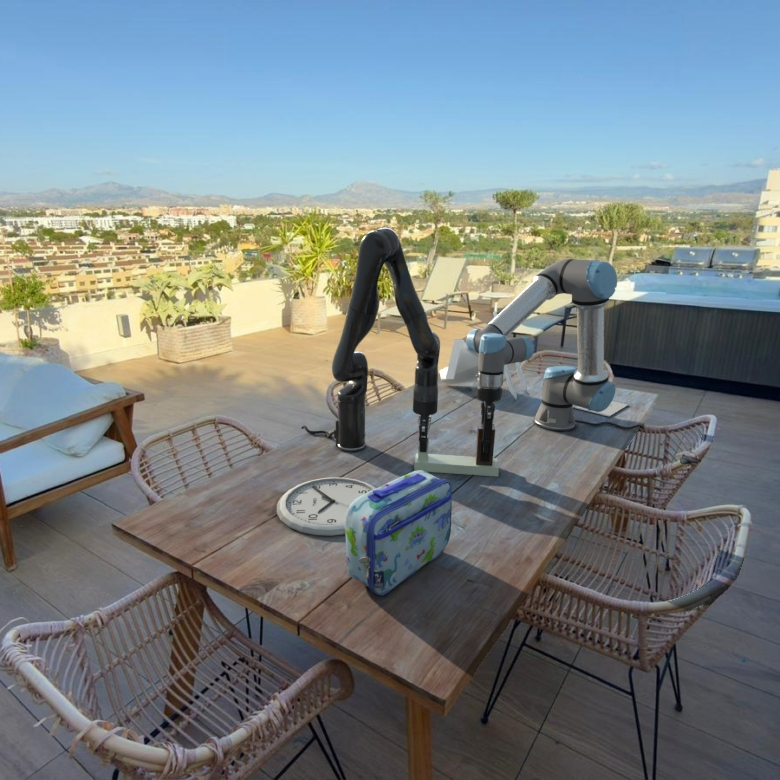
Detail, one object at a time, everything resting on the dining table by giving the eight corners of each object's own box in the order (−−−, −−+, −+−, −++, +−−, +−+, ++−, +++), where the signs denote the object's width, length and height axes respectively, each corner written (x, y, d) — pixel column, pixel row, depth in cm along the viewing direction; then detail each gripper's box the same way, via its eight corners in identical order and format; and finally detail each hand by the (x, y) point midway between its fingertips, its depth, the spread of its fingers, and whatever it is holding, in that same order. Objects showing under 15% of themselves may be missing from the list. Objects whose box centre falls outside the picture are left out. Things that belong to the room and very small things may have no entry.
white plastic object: (461, 429, 252) (437, 405, 227) (444, 352, 274) (420, 323, 250) (535, 404, 240) (518, 377, 215) (510, 326, 262) (492, 293, 237)
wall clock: (392, 527, 129) (268, 531, 127) (391, 533, 130) (269, 537, 127) (383, 473, 158) (282, 475, 155) (383, 478, 158) (282, 480, 156)
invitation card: (608, 416, 214) (573, 407, 224) (608, 416, 214) (573, 408, 224) (628, 404, 229) (594, 396, 238) (628, 405, 229) (594, 397, 238)
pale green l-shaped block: (496, 466, 168) (499, 435, 164) (498, 476, 161) (501, 443, 158) (415, 461, 170) (416, 430, 167) (414, 470, 164) (415, 438, 161)
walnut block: (491, 459, 166) (494, 423, 162) (492, 466, 161) (495, 429, 158) (475, 458, 167) (477, 422, 163) (475, 464, 162) (478, 428, 158)
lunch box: (373, 608, 104) (374, 515, 98) (339, 582, 112) (337, 495, 105) (455, 554, 122) (460, 473, 116) (421, 535, 129) (424, 458, 123)
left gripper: (415, 389, 167) (413, 439, 172) (411, 404, 154) (409, 457, 159) (438, 391, 166) (436, 440, 171) (436, 405, 153) (434, 459, 158)
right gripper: (475, 377, 165) (471, 444, 172) (478, 394, 148) (472, 468, 155) (499, 378, 165) (494, 446, 172) (504, 395, 148) (498, 470, 154)
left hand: (423, 448), depth 165 cm, fingers closed on pale green l-shaped block, 4 cm apart
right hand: (484, 456), depth 163 cm, fingers closed on walnut block, 5 cm apart
